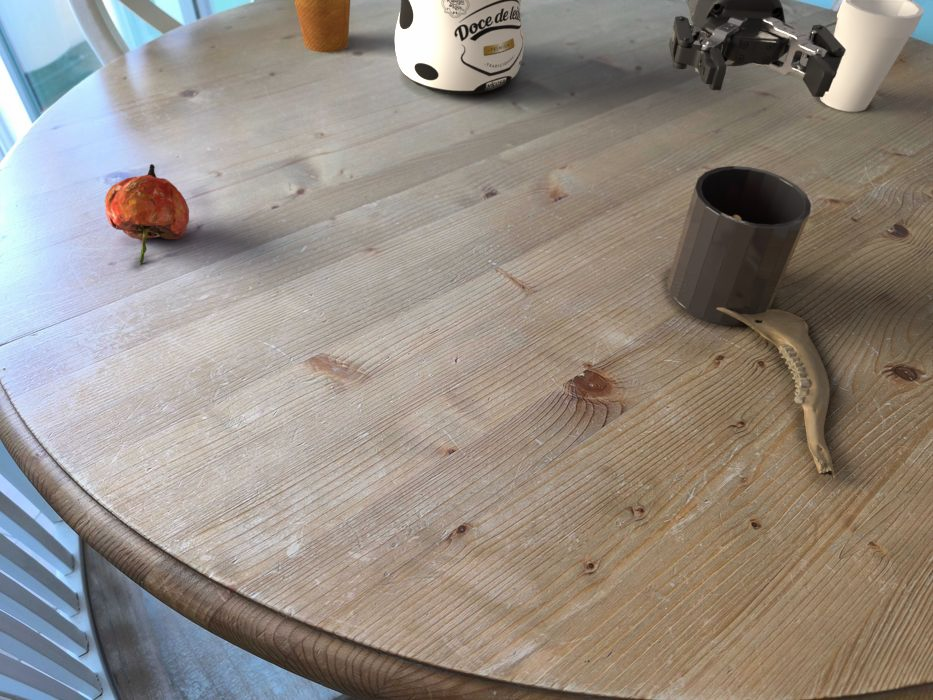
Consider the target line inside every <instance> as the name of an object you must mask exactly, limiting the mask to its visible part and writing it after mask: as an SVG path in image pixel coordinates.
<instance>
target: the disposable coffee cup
mask: <svg viewBox="0 0 933 700" xmlns="http://www.w3.org/2000/svg"><path fill="white" fill-rule="evenodd" d="M294 5H295V9H296V14H297V16H298V22H299V26H300V31H301V35H302V39H303V43H304V47H305V48H306V49H308V50H310V51H312V52H316V53H335V52H339V51H342V50H344V49H345V48H347V47H348V45H349V32H350V31H349V30H350V15H351V14H350V13H351V0H294Z"/></svg>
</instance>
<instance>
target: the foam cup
mask: <svg viewBox="0 0 933 700" xmlns="http://www.w3.org/2000/svg"><path fill="white" fill-rule="evenodd" d="M924 12H925V10H924V9H923V7H922V5H920V4H919V3H917V2H915V1H913V0H842V1H841V4H840V6H839V9H838V11H837V14H836V18H837V19H836V24H835V29H834V33H833V36H834V37H835V38H836V39H837V40H838V41H839V42H840V44H841V45H842V46H843V47H844V48H845V49H846V51H845V54H844V56H843V57H842V60H841V62H840V65H839V67H838V70H837V74H836V76H835V78H834V79H833V81H832V84H831V86H830V89H829V92H825V94H824V96H823V97H819V100H820V101H821V102H822V103H823V104H825V105H826V106H828V107H830V108H832V109H835V110H838V111H844V112H848V113H849V112H854V113H855V112H856V113H857V112H858V113H859V112H861V111H866V109H867V108H868V107H869V105H870V104H871V102H872V100H873V99H874V97H875V95H876V94H877V93H878V91H879V89H880V87H881V85H882V84H883V83H884V81H885V78H886V77H887V75H888V74H889V72H890V71H891V69H892V68H893V66H894V64H895V62H896V60H897V59H898V57H899V56H900V54H901V52H902V50H904V47H905V45H906V44H907V42H908V41H909V39H910V37H911V36H913V34H914V33H915V32H916V31H917V28H918V26H919V23H920V21H921V19H922V17H923V15H924Z"/></svg>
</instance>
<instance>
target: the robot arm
mask: <svg viewBox="0 0 933 700" xmlns="http://www.w3.org/2000/svg"><path fill="white" fill-rule="evenodd" d="M685 2H686V4H687V7H688V9H689V15H690V20H691V22H690V20H689V18H688V17H686V16H683V15H679V16H675V17H674V21H673V25H672V29H671V34H670V38H669V43H668V46H669V51H670V57H671V62H672V66H673V67H672V68H674V69H677V70H686V69H688V66H691V67H694V72H695V73H697V74H699V76H700V79H701V81H702V82H703V84H705V85H708V87H709V89H710V91H720V92H721V90H722V87H723V84H724V79H725V76H726V72H727V67H743V66H746V65H749V64H752V65H754V66H756V67H765V68H767V69H769V70H771V71H774V72H776V73H778V74H780V75H781V76H788V75H790V74H794V75H795V76H798V77H800V78H801V79H802V81H803V83H804V84H805V86H806V87H807V89H808V91H809V92H810V95H812V97H813V98H814V97H815V98H820V97H823V96H824V94H825V92H829V89H830V86H831V84H832V81H833V79H834V78H835V76H836V74H837V70H838V67H839V65H840V62H841V60H842V57H843V56H844V54H845V51H846V49H845V48H844V47H843V46H842V45H841V44H840V42H839V41H838V40H837V39H836V38H835V37H834V34H833V33H832V32H831V31H830V30H829V29H828V28H827V27H826V26H825V25H823V24H813V25H812V28H811V30H810V33H809V32H806V33H805V32H801V31H799V30H796V29H795V28H794V27H793V26H791V25H789V24H788V23H786V18H785V12H784V7H783V5H782V2H781V0H685ZM696 42H698V43H699V44H696ZM784 56H785V59H784V60H783V61H782V60H780V59H781V58H783V57H784ZM801 59H805V60H806V59H807V62H806V64H805V65H803V64H802V63H801Z"/></svg>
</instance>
